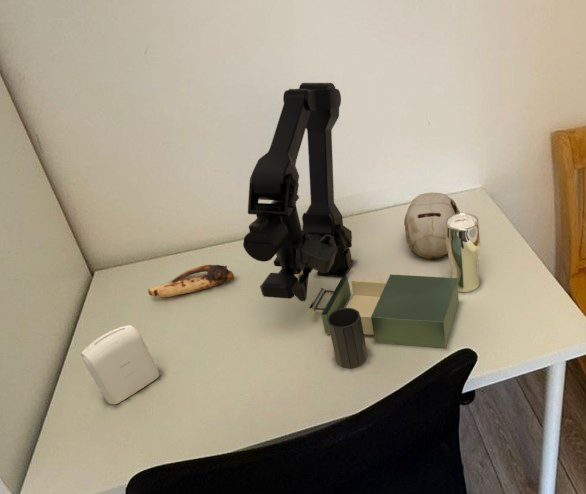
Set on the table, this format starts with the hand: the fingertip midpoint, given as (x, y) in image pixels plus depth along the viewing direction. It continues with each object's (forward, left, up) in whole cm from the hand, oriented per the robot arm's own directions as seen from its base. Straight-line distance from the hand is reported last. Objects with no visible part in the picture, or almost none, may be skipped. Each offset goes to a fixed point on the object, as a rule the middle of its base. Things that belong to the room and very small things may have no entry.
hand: (303, 300), depth 127 cm
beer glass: (+30, +14, -4) cm, 34 cm away
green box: (+23, 0, -4) cm, 24 cm away
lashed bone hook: (-30, +7, -4) cm, 31 cm away
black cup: (+13, -12, -4) cm, 18 cm away
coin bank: (+20, +30, -4) cm, 37 cm away
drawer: (+11, 0, -3) cm, 11 cm away
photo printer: (-25, -25, -4) cm, 35 cm away
